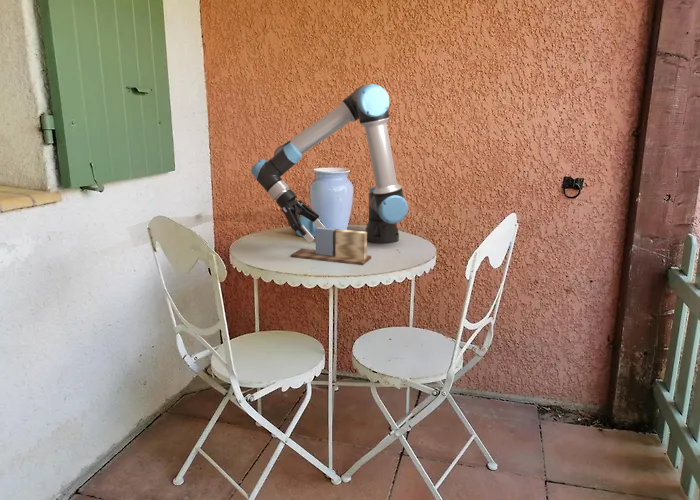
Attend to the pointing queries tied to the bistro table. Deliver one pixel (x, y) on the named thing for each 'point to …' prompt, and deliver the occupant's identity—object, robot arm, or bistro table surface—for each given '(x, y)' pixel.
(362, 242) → the l-shaped wooden stand
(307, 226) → the blue round finned body
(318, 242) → the pale blue rectangular block
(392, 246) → the bistro table surface
